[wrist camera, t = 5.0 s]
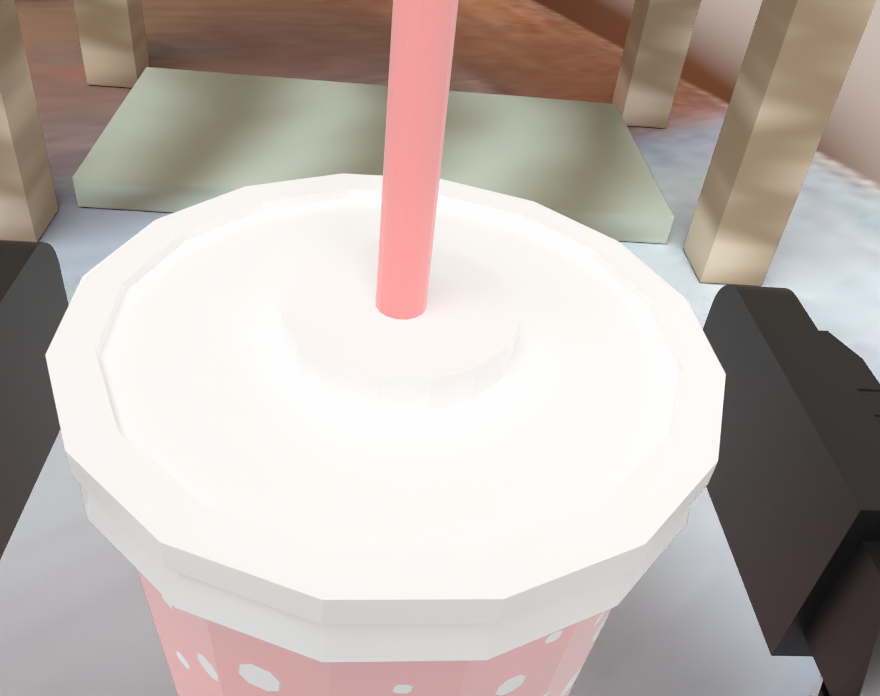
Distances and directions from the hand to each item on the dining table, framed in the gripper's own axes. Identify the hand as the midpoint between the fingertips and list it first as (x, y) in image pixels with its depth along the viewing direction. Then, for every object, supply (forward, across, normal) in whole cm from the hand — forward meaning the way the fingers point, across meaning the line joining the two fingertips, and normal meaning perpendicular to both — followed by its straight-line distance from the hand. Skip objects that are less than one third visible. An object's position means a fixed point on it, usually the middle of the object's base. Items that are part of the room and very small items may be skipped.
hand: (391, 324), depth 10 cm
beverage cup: (-2, 0, +8) cm, 8 cm away
